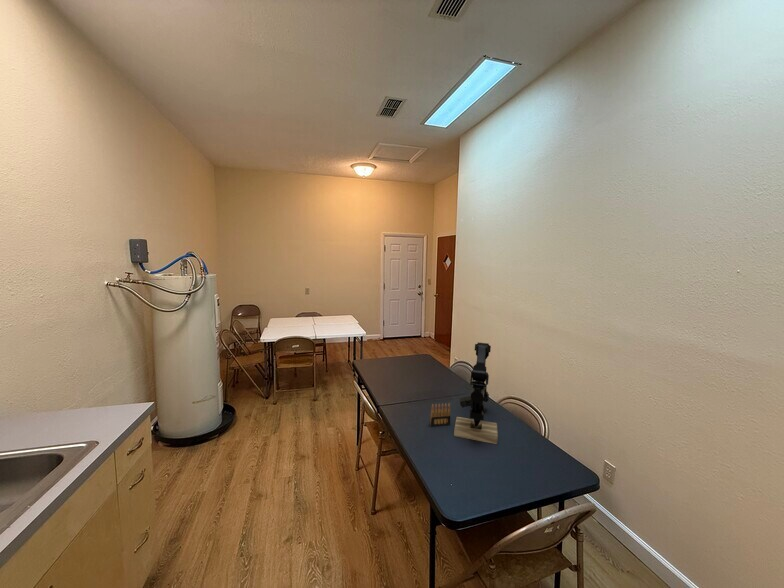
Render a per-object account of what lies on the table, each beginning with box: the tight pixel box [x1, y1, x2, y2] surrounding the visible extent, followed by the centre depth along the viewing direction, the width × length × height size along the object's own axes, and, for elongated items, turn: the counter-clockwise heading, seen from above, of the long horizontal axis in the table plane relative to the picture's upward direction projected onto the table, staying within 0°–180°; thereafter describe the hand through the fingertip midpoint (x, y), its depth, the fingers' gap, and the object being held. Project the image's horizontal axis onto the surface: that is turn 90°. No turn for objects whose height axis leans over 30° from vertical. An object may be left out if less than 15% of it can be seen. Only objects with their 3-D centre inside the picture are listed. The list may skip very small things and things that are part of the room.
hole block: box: [453, 416, 499, 445], centre depth 158 cm, size 12×20×4 cm, turn 73°
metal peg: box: [471, 409, 482, 429], centre depth 157 cm, size 4×4×10 cm
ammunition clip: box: [429, 402, 451, 428], centre depth 164 cm, size 11×2×12 cm, turn 100°
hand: (476, 423), depth 158 cm, fingers closed on metal peg, 4 cm apart
